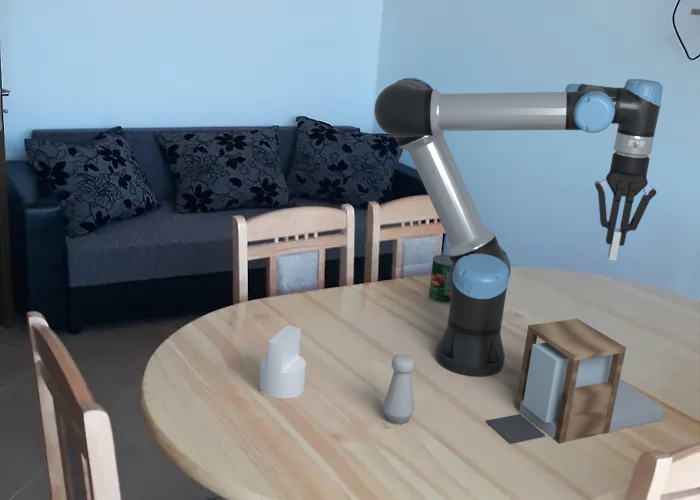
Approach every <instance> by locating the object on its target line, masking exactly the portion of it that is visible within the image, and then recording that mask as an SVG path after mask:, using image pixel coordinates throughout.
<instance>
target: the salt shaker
mask: <svg viewBox="0 0 700 500" xmlns="http://www.w3.org/2000/svg"><path fill="white" fill-rule="evenodd" d="M391 368H392V370H393V373H392V376H391V380H390V383H389V386H388V390H387V392H386V396H385V400H384V403H383V406H382V407H383V408H382V409H383V412H384V414H385V416H386V419H387V420H388V421H389V422H390V423H391V424H394V425H398V424H400V426H401V424H402V425H405V424H407V423H408V422H409V421H410V420H411V418H412V416H413V414H414V411H415V406H414V405H415V403H414V393H413V384H412V383H413V382H412V372H414V370H415V368H416V360H415V358H413V357H412V356H411V355H408V354H397V355H395V356H393V359H392V361H391Z"/></svg>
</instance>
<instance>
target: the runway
mask: <svg viewBox="0 0 700 500" xmlns="http://www.w3.org/2000/svg"><path fill="white" fill-rule="evenodd" d="M523 401H524V399H523V400H521V405H520V411H519V412H520V413H522V414H523V415H524V417H525V418H527V419H528V420H530V421H531V422H532V423H534V424H535V425H536V427H538V428H539V429H541V430H543V431H542V432H545V433H546V434H547V435H548V436H550V437H551V438H552V439H553V440H554V438H555V432H556V426H557V421H553V422H548V423H545V422H544V421H542V420H541V419H540V418H539V417H537V416H536V415H535V414H534V413H532V412H531V411H530V410H529V409H528V408H526V407H525V406H524V405H523ZM664 412H665V408H663V407H662V406H660V405H659V404H658V403H656V402H654V401H653V400H651V399H650V398H648V397H647V396H645V395H643V394H642V393H640V392H639V391H637V390H636V389H634V388H633V387H631V386H629V385H628V384H626V383H625V382H624V381H622V380H619V385H618V390H617V395H616V400H615V405H614V410H613V415H612V420H611V424H610V429H609V433H610V432H613V431H614V432H615V431H618V430H624V429H628V428H632V427H637V426H641V425H646V424H651V423H656V422H659V421H660V422H661V421H663V418H664Z"/></svg>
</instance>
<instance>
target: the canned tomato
mask: <svg viewBox="0 0 700 500" xmlns="http://www.w3.org/2000/svg"><path fill="white" fill-rule="evenodd" d="M454 269H455V268H454V266H453V263H452V261H451V259H450V257H449V255H448V254H437V255H434V256H433V257H432V264H431V273H430V285H429V293H428V299H430V300H431V301H433V302H435V303H439V304H443V303H444V304H445V305H448V304H449V305H450V301H451V293H452V285H453V271H454Z"/></svg>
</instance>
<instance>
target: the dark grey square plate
mask: <svg viewBox="0 0 700 500" xmlns="http://www.w3.org/2000/svg"><path fill="white" fill-rule="evenodd" d="M485 423H486V424H487V425H489V426H490V428H492V429H493V430H494V431H495V432H496V433H497V434H498V435H500V436H501V437H502V439H504V440H505V441H506V442H508V444H510V445H512V444H516V443H522V442H525V441H531V440H535V439H540V438H544V437H546V434H545V433H543V431H541V430H540V428H537V426H535V425H534V424H533V423H531V422H530V421H529V419H528V418H526V417H525V416H523V415H522V414H521V413H518V414H517V413H516V414H511V415H508V416H502V417H495V418H492V419H491V418H490V419H486V420H485Z"/></svg>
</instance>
